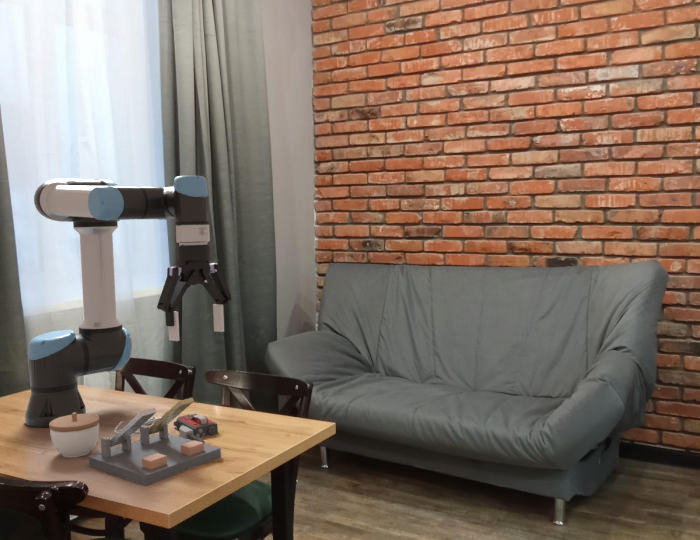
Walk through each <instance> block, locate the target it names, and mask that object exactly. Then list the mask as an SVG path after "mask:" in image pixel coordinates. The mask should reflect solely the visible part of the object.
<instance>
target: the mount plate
mask: <svg viewBox="0 0 700 540" xmlns="http://www.w3.org/2000/svg"><path fill="white" fill-rule="evenodd" d="M168 425H169V424H167V425H166V426H165V427H164V428H163V429H162V431H161V432H158V434H156V435H155V434H154V435H151V436H150V435H149V428H150V427H149V425H146V426H145V425H142V426H141V427H140V428H139V431H140V433H139V436H140V437H139V438H140V439H139V440H137V441H133V442H132V435H131V436H130V437H128V438H127V439H126V440H125V443H123V444H121V446H118V447H115V448H112V447H110V440H111V438H110V437H108V436H103V437H100V449H101V450H100V451H101V452H99V453H95V454H93V455H90V456H89V455H88V467H91V468H94V469H97V470H100V471H103V472H105V473H108V474H111V475H114V476H116V477H119V478H122V479H125V480H127V481H131V482H133V483H135V484H138V485H141V486H144V487H145V486H146V487H147V486H148V485H151V484H154V483H156V482H159V481H162V480H164V479H167V478H169V477H172V476H174V475H177V474H180V473H183V472H185V471H188V470H191V469H194V468H196V467H198V466H201V465H203V464H206V463H209V462H211V461H214V460H216V459H220V458H222V454H221V453H222V450H221V447H217V446H214V445H210V444H208V443H205V444H204V443H203V442H199V441H196V440H192V439H185V438H182V437H181V436H178V435H175V434H170V433H169V428H168V427H169V426H168ZM111 448H112V449H111Z"/></svg>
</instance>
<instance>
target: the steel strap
mask: <svg viewBox="0 0 700 540" xmlns="http://www.w3.org/2000/svg"><path fill="white" fill-rule="evenodd" d="M155 414H157V410H156V408H155V407H153V408H150V409H144V410H142V411H140V412H139V413H138V414H137V415H135V417H133V418H132V419H130V420H131V421H130V420H129V421H128V423H126V425H124V427H122V428H121V429H122V430H120V429H119V430H120V431H119V432H118V433H115V435H114V436H113V437H112V438H110V448H112V447H116V446H119V445H122V444H123V443H125V440H126V439H127V438H128V437H130V436H131V437H132V435H134V434H133V433H134V432H136V431H137V430H139V429H140V427H141V426H142V425H143V424H144V423H145V422H146V421H147V420H149V419H151V418H153V416H154V415H155Z"/></svg>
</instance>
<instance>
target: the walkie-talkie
mask: <svg viewBox="0 0 700 540" xmlns="http://www.w3.org/2000/svg"><path fill="white" fill-rule="evenodd" d="M173 426H174V427H176V429H177V430H178V431H179V432H178V433H179V436H178V437H182V438H185V439H189V440H193V441H194V440H196V441H199V442H203V443H204V444H206V442H205V440H203V439H201V438H203V437H208V436H213V435H217V434H218V428H219V427H218V423H217V422H215V421H213V420H212V419H209V418H208V417H207V416H204V415H203V414H201V413H200V414H198V413H196V412H194V413H189V414H185V415H180V416H177V417H176V421H173Z"/></svg>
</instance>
